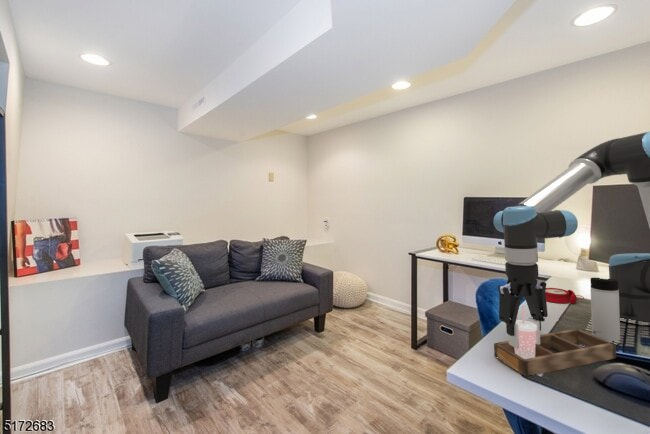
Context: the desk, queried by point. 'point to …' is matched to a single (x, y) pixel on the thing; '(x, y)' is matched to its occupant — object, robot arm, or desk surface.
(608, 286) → the travel mug
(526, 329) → the beverage cup
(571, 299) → the alarm clock
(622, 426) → the desk surface
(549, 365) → the walnut rack
